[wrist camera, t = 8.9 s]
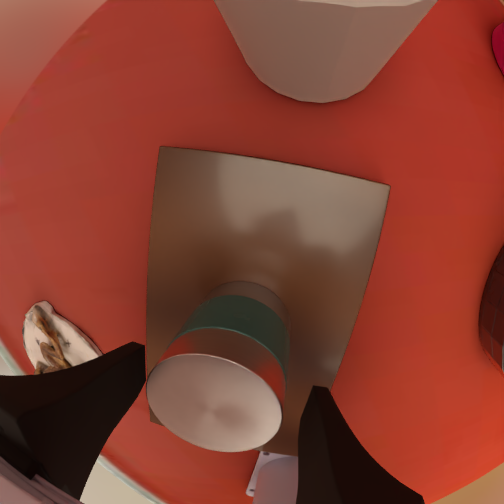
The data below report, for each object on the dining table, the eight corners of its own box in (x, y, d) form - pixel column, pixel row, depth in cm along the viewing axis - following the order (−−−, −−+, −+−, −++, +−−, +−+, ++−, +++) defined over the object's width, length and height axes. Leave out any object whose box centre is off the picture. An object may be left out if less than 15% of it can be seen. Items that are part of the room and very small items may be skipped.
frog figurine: (109, 433, 24) (92, 458, 20) (23, 363, 23) (2, 381, 20) (138, 370, 20) (114, 401, 17) (29, 283, 20) (-2, 298, 16)
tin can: (280, 370, 17) (268, 463, 10) (194, 351, 17) (148, 431, 11) (300, 291, 16) (300, 372, 9) (202, 270, 16) (142, 334, 9)
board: (300, 446, 20) (299, 457, 19) (155, 412, 21) (150, 421, 20) (384, 184, 15) (391, 185, 14) (168, 147, 16) (159, 145, 15)
